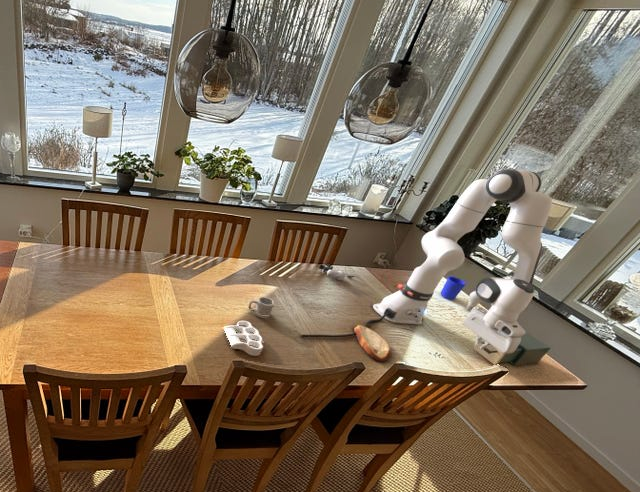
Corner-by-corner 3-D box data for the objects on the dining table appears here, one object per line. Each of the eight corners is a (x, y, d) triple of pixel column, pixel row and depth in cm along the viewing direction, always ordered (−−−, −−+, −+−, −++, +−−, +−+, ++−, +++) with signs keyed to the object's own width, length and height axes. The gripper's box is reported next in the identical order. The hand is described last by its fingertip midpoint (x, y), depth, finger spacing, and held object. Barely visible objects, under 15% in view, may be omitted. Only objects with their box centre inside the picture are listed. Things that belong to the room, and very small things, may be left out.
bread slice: (357, 326, 175) (360, 319, 173) (398, 347, 165) (402, 340, 163) (338, 340, 164) (342, 333, 162) (381, 364, 154) (386, 357, 152)
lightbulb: (477, 314, 198) (490, 296, 192) (464, 312, 199) (477, 293, 192) (471, 308, 203) (484, 290, 197) (459, 305, 204) (471, 287, 198)
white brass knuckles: (220, 326, 161) (253, 327, 164) (232, 356, 147) (269, 356, 150) (221, 320, 160) (255, 320, 162) (234, 349, 145) (272, 349, 148)
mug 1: (269, 311, 176) (273, 298, 172) (270, 319, 171) (274, 306, 167) (246, 306, 177) (250, 294, 173) (247, 315, 171) (251, 302, 167)
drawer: (486, 365, 161) (496, 353, 157) (464, 349, 169) (473, 336, 165) (516, 362, 165) (527, 350, 162) (494, 346, 174) (503, 334, 170)
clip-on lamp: (341, 276, 221) (315, 269, 215) (346, 266, 219) (321, 258, 213) (354, 285, 211) (328, 278, 205) (360, 275, 209) (334, 267, 203)
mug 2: (451, 292, 216) (461, 276, 210) (457, 302, 206) (468, 286, 201) (434, 288, 217) (444, 272, 212) (440, 298, 208) (450, 281, 202)
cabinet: (514, 365, 165) (527, 349, 160) (489, 347, 174) (501, 332, 169) (537, 363, 169) (551, 347, 164) (511, 345, 178) (524, 330, 173)
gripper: (469, 305, 160) (451, 332, 168) (517, 336, 144) (495, 364, 152) (481, 304, 162) (462, 331, 170) (530, 335, 146) (507, 363, 154)
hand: (478, 347), depth 161 cm, fingers closed
